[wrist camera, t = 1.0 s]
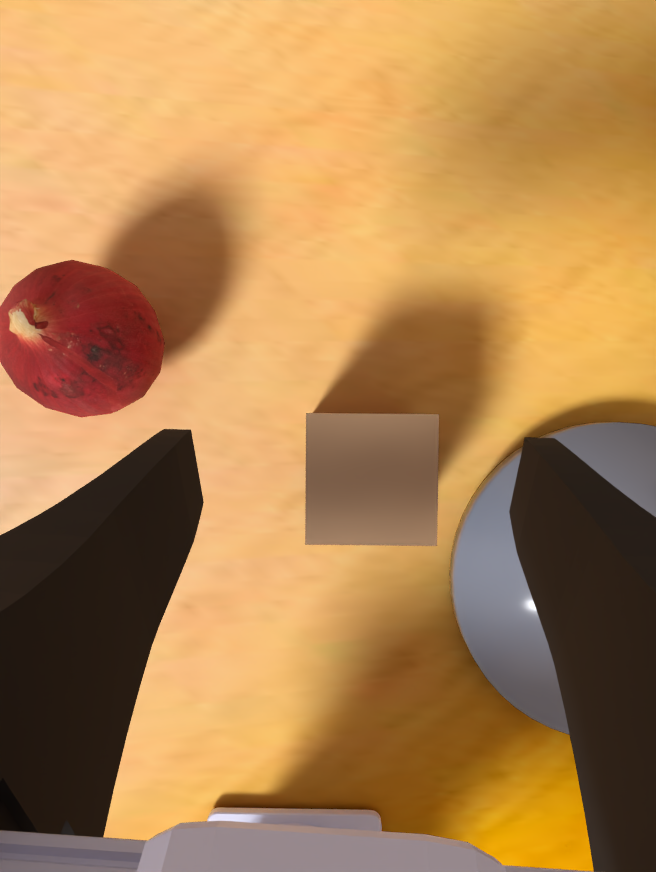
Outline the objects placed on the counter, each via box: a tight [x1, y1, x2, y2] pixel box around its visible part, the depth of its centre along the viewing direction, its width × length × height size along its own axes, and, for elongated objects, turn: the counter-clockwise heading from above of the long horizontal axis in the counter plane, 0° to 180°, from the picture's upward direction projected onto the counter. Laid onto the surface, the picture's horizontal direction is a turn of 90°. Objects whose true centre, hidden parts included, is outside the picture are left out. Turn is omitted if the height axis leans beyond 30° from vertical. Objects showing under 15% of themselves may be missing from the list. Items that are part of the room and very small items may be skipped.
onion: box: [0, 260, 165, 417], centre depth 21 cm, size 6×6×8 cm
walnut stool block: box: [305, 413, 439, 546], centre depth 22 cm, size 5×5×6 cm
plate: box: [449, 422, 656, 735], centre depth 25 cm, size 14×14×1 cm
